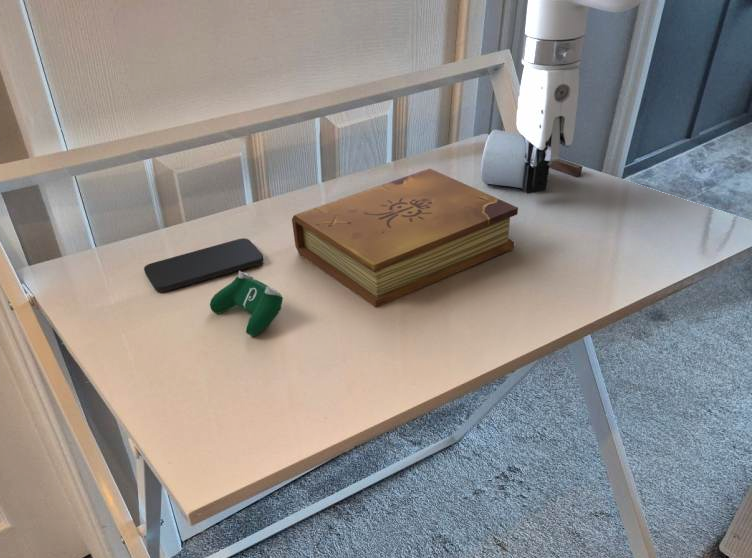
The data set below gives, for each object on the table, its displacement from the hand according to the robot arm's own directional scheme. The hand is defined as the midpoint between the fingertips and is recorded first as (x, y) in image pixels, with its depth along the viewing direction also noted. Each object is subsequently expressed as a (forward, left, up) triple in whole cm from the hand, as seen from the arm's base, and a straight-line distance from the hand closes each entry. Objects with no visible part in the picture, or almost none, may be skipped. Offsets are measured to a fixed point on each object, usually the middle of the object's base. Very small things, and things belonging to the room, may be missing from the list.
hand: (533, 190), depth 101 cm
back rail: (0, -15, -2) cm, 15 cm away
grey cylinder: (+4, -7, -2) cm, 8 cm away
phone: (+40, +29, -2) cm, 50 cm away
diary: (+15, +19, -2) cm, 24 cm away
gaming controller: (+29, +39, -2) cm, 49 cm away
